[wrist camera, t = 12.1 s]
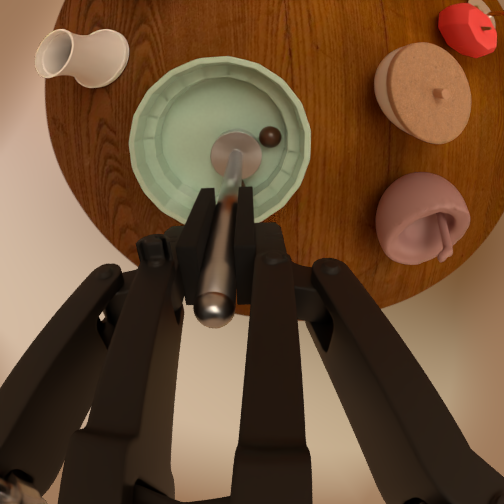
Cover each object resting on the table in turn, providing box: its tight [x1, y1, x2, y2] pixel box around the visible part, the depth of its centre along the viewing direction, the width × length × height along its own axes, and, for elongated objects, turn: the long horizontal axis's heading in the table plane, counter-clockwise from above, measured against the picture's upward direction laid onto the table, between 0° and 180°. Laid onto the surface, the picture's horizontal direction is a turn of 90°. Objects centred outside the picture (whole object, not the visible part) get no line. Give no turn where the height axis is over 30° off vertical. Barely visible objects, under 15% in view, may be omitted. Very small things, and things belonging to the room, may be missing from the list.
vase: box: [35, 29, 129, 88], centre depth 19 cm, size 8×8×10 cm
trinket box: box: [374, 42, 471, 144], centre depth 22 cm, size 11×11×9 cm
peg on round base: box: [194, 129, 262, 328], centre depth 19 cm, size 5×5×25 cm
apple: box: [438, 3, 497, 58], centre depth 17 cm, size 8×8×8 cm
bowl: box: [129, 56, 311, 224], centre depth 27 cm, size 17×17×6 cm
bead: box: [259, 126, 282, 148], centre depth 28 cm, size 2×2×2 cm
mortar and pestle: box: [376, 172, 470, 265], centre depth 29 cm, size 12×12×12 cm
